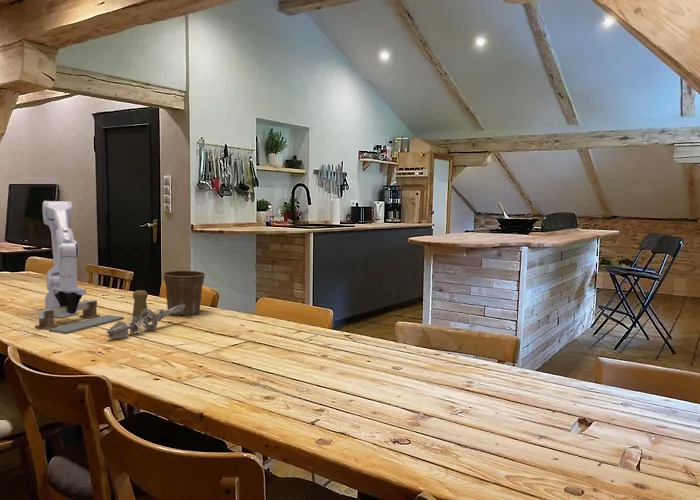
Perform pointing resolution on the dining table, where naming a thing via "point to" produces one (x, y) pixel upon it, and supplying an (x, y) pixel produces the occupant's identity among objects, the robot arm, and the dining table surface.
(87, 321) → the long grey plate
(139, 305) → the cork
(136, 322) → the spaceship
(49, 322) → the cradle rack
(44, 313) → the steel rail
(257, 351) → the dining table surface
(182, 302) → the plant pot
